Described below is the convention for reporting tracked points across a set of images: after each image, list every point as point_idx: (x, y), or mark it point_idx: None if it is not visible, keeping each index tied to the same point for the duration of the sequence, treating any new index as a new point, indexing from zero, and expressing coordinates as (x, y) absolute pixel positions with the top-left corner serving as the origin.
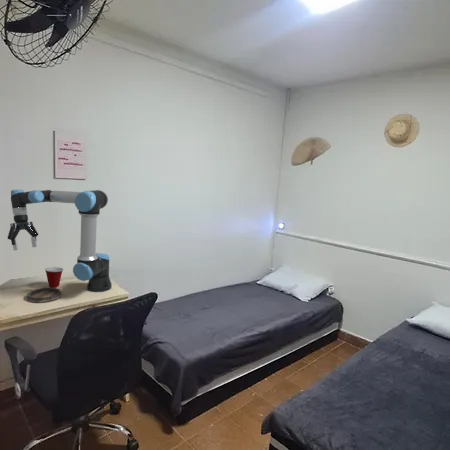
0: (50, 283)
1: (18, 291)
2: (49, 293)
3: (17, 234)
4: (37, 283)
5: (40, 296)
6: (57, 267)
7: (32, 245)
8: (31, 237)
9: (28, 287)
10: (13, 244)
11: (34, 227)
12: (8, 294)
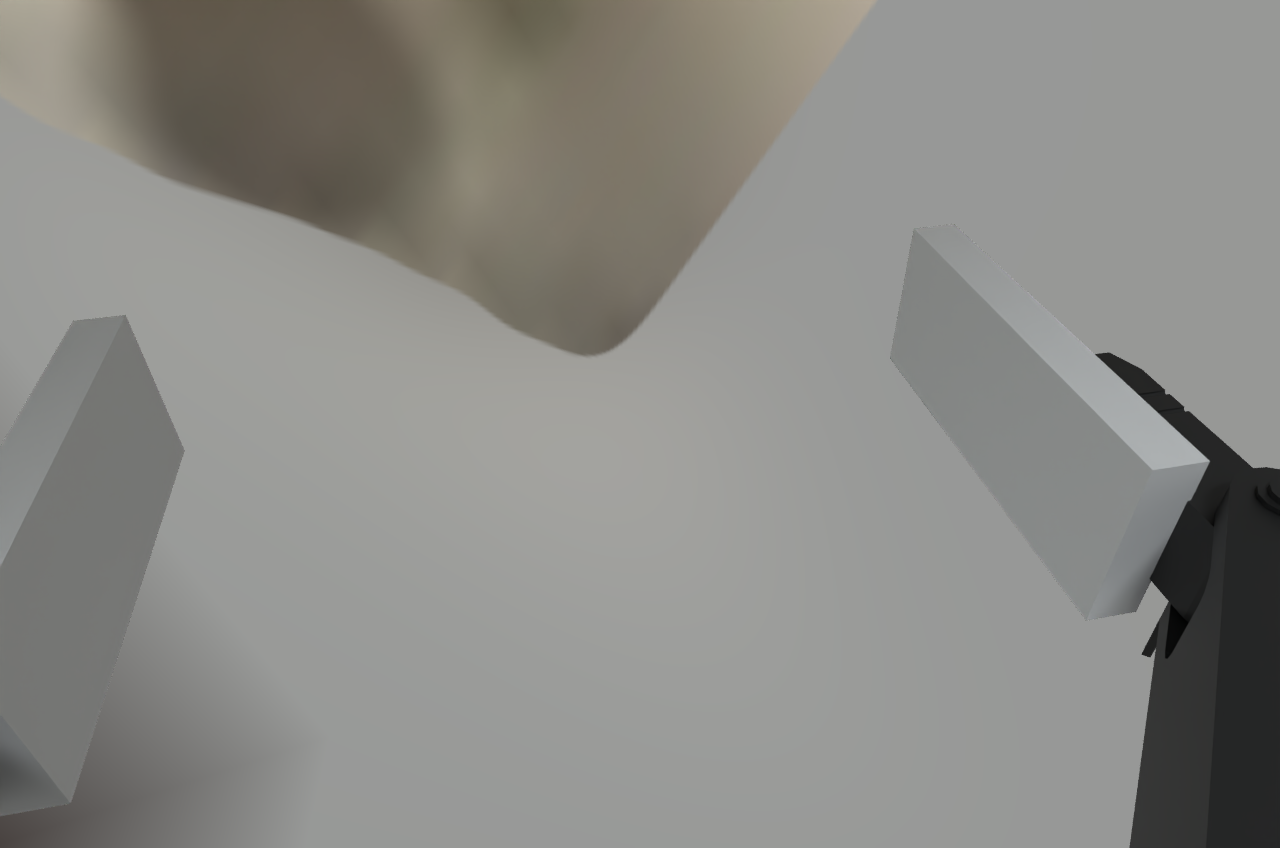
0: None
1: (615, 98)
2: None
3: (1216, 701)
4: (244, 167)
5: None
6: None
7: (162, 484)
8: (58, 771)
9: (438, 124)
10: (1120, 376)
11: None
12: (747, 109)
